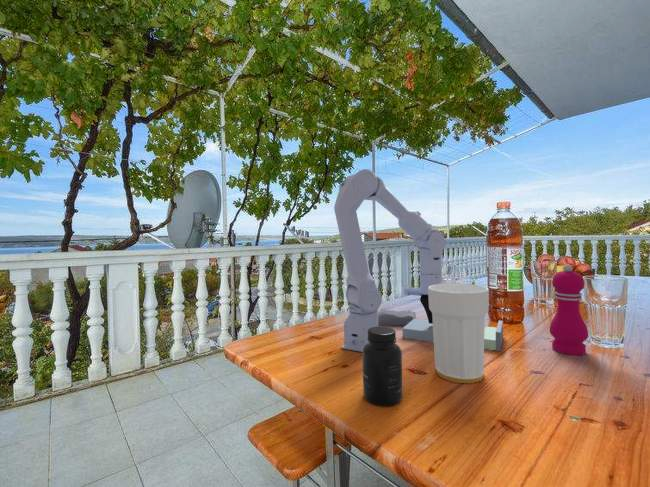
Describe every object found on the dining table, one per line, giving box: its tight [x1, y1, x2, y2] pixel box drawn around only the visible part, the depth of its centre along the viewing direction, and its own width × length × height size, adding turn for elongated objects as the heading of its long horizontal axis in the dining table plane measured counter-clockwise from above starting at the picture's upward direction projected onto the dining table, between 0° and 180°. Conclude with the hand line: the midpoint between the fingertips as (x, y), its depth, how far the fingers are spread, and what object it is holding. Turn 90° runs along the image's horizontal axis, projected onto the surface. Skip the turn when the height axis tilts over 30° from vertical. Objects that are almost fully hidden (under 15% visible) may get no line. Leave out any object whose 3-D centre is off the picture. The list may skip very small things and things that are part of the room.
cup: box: [428, 282, 490, 384], centre depth 65 cm, size 11×11×17 cm
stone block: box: [378, 308, 417, 327], centre depth 104 cm, size 12×5×10 cm
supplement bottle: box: [361, 325, 403, 407], centre depth 57 cm, size 7×7×12 cm
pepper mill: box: [549, 264, 589, 356], centre depth 75 cm, size 7×7×20 cm
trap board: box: [401, 318, 504, 352], centre depth 87 cm, size 24×11×4 cm, turn 59°
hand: (431, 322), depth 90 cm, fingers closed
